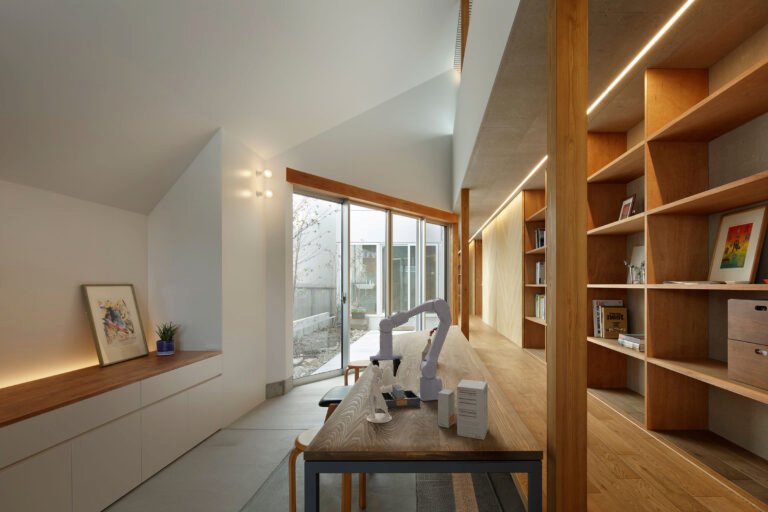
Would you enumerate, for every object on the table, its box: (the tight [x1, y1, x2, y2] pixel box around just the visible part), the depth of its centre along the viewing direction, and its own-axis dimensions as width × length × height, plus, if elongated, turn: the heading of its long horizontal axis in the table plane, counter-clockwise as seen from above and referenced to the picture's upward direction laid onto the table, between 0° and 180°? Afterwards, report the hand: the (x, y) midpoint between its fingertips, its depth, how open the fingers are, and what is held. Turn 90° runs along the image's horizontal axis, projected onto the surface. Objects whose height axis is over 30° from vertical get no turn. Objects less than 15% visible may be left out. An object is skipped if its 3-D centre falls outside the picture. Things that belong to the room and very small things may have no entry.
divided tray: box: [381, 389, 421, 411], centre depth 168 cm, size 16×11×4 cm
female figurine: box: [351, 365, 393, 424], centre depth 153 cm, size 11×16×20 cm
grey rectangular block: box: [391, 383, 405, 399], centre depth 167 cm, size 3×8×6 cm, turn 14°
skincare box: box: [437, 388, 456, 429], centre depth 145 cm, size 6×4×12 cm
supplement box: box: [456, 379, 489, 440], centre depth 138 cm, size 10×9×17 cm
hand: (386, 376), depth 175 cm, fingers open, 7 cm apart
